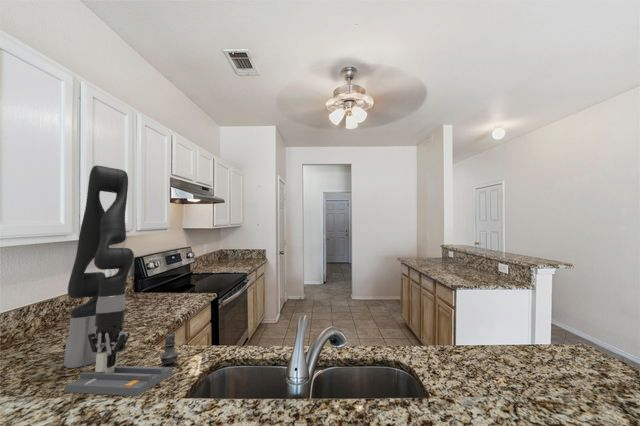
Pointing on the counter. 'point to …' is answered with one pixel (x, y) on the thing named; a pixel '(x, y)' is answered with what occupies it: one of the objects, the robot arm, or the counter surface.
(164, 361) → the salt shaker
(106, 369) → the fader tab
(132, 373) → the fader console
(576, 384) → the counter surface
